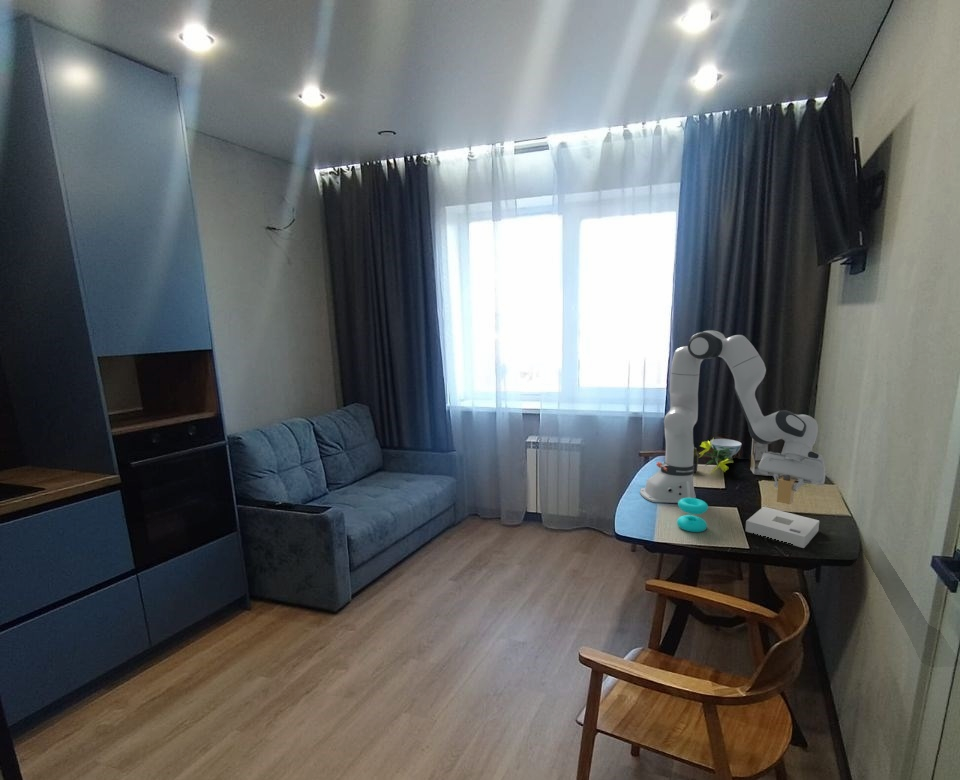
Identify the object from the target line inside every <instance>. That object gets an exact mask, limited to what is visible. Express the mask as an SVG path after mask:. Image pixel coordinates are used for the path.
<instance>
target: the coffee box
mask: <svg viewBox="0 0 960 780" xmlns="http://www.w3.org/2000/svg"><path fill="white" fill-rule="evenodd" d="M751 439H752V441H751V454H750V468H749V469H750V471H751V472H752V474H753V475H757V476H767V477H768V476H769V475H765V474H761V473H760V471H759V469H758V466H759V463H760V461H761V460H762V459H761V458H762V455H763V453H765V452H768V451H771V446H772V445H771V444H772V443H769V444H760V443H758V442H756V441H755V440H754V439H753V438H752V437H751Z"/></svg>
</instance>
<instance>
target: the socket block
mask: <svg viewBox="0 0 960 780" xmlns="http://www.w3.org/2000/svg"><path fill="white" fill-rule="evenodd" d="M819 526H820V520H818V519H816V518H815V519H814V518H811V517H806V516H802V515H799V514H796V513H790V512H788V511H782V510H779V509H774V508H770V507H767V506H762V507H761V508H760V509H759V510H757V511H756V512H755V513H754V514H753V515H752V516H750V517H749V518H747V520H746V521H745V532H747V533H750V534H753V533H754V535H757V534H758V535H757V536H760V535H761V537H763V536H766V537H765V538H767V537H769V538H768V539H770V538H772V539H771V540H774V539H776V540H775V541H777V540H779V541H778V542H781V541H783V542H782V543H784V542H787V543H786V544H788V543H791V544H793V545H792V546H794V547H798V548H802V549H805V548H806V547H807V545H808V544H809V543H810V542H811V541H812V539H813V538H814V537H815V536H816V535H817V534H818V533H819V528H820V527H819ZM791 544H790V545H791Z"/></svg>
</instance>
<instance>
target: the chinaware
mask: <svg viewBox="0 0 960 780" xmlns="http://www.w3.org/2000/svg"><path fill="white" fill-rule="evenodd" d="M712 440H713V441H712ZM711 442H712V444H711ZM710 444H711V448H713V445H714V446H715V448H716V450H725V449H729V450H728V451H729V452H730V457H729V458H728V459H732V458H733V456H734V455H736V454H737V453H738V452H739V451H740V450H741V448H742V442H740V441H738V440H734V439H728V438H715V439H714V438H712V439H710ZM713 449H714V448H713ZM726 456H729V455H726ZM726 456H725V457H726Z"/></svg>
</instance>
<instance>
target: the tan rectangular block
mask: <svg viewBox="0 0 960 780" xmlns="http://www.w3.org/2000/svg"><path fill="white" fill-rule="evenodd" d="M777 481H778V488H777V493H776V494H777V495H776V502H777V503H781V504H786V505H791V504H792V503H793V502H794V498H795V497H794V496H795V494H794V493H795V491H792V487H793V485H796V484H795V483H796V481H795V480H794V479H790V475H783V477H781V478H780V477H779V479H777Z"/></svg>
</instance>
